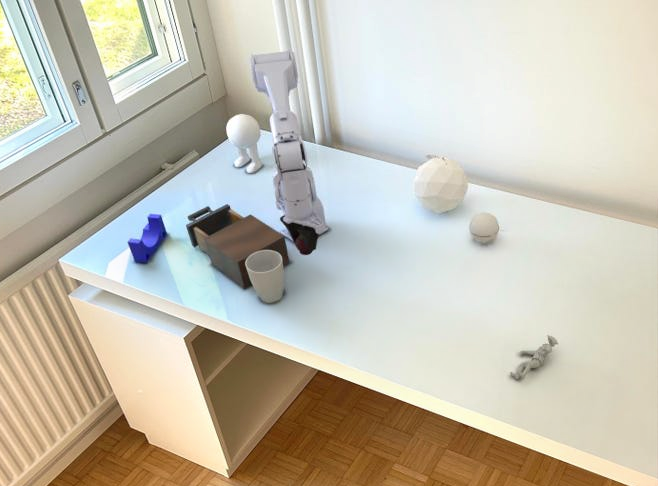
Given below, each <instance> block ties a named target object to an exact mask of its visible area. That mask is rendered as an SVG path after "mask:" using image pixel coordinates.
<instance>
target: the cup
mask: <svg viewBox="0 0 658 486" xmlns="http://www.w3.org/2000/svg"><path fill="white" fill-rule="evenodd" d="M245 265H246V268H247V271H248V274H249V277H250V280H251V282H252V284H253V285H252V286H253V288H254V290H255V292H256V294H257V295H258V297H259V298H260V300H261V301H263V302H264V303H268V304H271V303H276V302H279V301H280V300H281V299H282V297H283V295H284V289H285V270H284V266H283V261H282V256H281V255H280V254H279V253H278V252H276V251H272V250H262V251H258V252H255V253H253V254H251V255H250V256H249V257H248V258H247V259H246V262H245Z"/></svg>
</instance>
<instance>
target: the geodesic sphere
mask: <svg viewBox="0 0 658 486" xmlns="http://www.w3.org/2000/svg"><path fill="white" fill-rule="evenodd" d="M425 157H426V158H427V159H428V161H426V162H425V163H423V164H421V165H420V166H418V167H417V171H416V173H415V176H414V179H413V182H412V185H413V192H414V193H413V194H414V196H415V197H416V199H417V200H418V202H419V203H420V204H421V206H422V207H423V208H424V209H426V210H429V211H431V212H434V213H436V214H441V213H445V212H449V211H452V210H454V209H455V208H457V207H458V206H460V205H461V204H462V203H463V202H464V199H465V197H466V194H467V191H468V189H469V183H468V178H467V174H466V172H465V171H464V168H463V167H461V165H460V164H459V163H458V161H456V160H453V159H451V158H449V157H446V156H444V155H442V156H436V155H434V154H428V155H425Z"/></svg>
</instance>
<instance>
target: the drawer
mask: <svg viewBox="0 0 658 486" xmlns="http://www.w3.org/2000/svg"><path fill="white" fill-rule="evenodd" d="M244 217H245V216H242V215H241V214H239V213H238V212H236V211H234V210H233V209H232V208H231V205H230V204H228V203H227V204H224V205H222V206H221V207H218V208H216V209H214V210H212V209H211V207H210V206H209V205H207V206H205V207H203V208H201V209H199V210H197V211H195V212H193V213H191V214H189V215H187V219H188V221H189V223H187V224H185V227H186V230H187V233H188V237H189V240H190V243H191V247H193V248H197V247H198V248H199V249H200V250H202V251H203V252H204V253H206V254H207V255H209V252H208V249H207V246H206V242H205V238H206V237H208V236H210V235H212V234H214V233H216V232H218V231H220V230H222V229H224V228H225V227H227V226H229V225H231V224H233V223H235V222H237V221H239V220H241V219H243V218H244Z"/></svg>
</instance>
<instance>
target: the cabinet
mask: <svg viewBox="0 0 658 486" xmlns="http://www.w3.org/2000/svg"><path fill="white" fill-rule="evenodd" d="M243 217H244V218H243V219H241V220H239V221H237V222H235V223H233V224H231V225H229V226H227V227H225V228H224V229H222V230H220V231H218V232H216V233H214V234H212V235H210V236H208V237H206V238H205V242H206V246H207V249H208V252H209V254H208V255H209V259H210V262H211V266H213V267H214V268H215V269H216V270H218V271H220V272H221V274H223V275H225V276H226V277H228V278H229V279H230V280H232V281H233V282H234V283H236V284H237V285H238V286H240V287H241V288H242V289H244V290H246V289H247V288H249V287H251V286H253V284H252V282H251V280H250V277H249V274H248V271H247V268H246V265H245V262H246V259H247V258H248V257H249V256H250V255H251V254H253V253H255V252H258V251H262V250H272V251H276V252H278V253H279V254H280V255H281V256H282V261H283V267H285V266H287V265H288V264H290V258H289V253H288V247H287V242H286V237H285V236H284V235H282V234H281V232H279V231H277V230H276V229H275V228H273V227H271V226H270V225H268V224H266V223H265V222H263V221H261V220H260V219H259V218H257V217H255V216H254V215H252V214H248V215H246V216H243Z"/></svg>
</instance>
